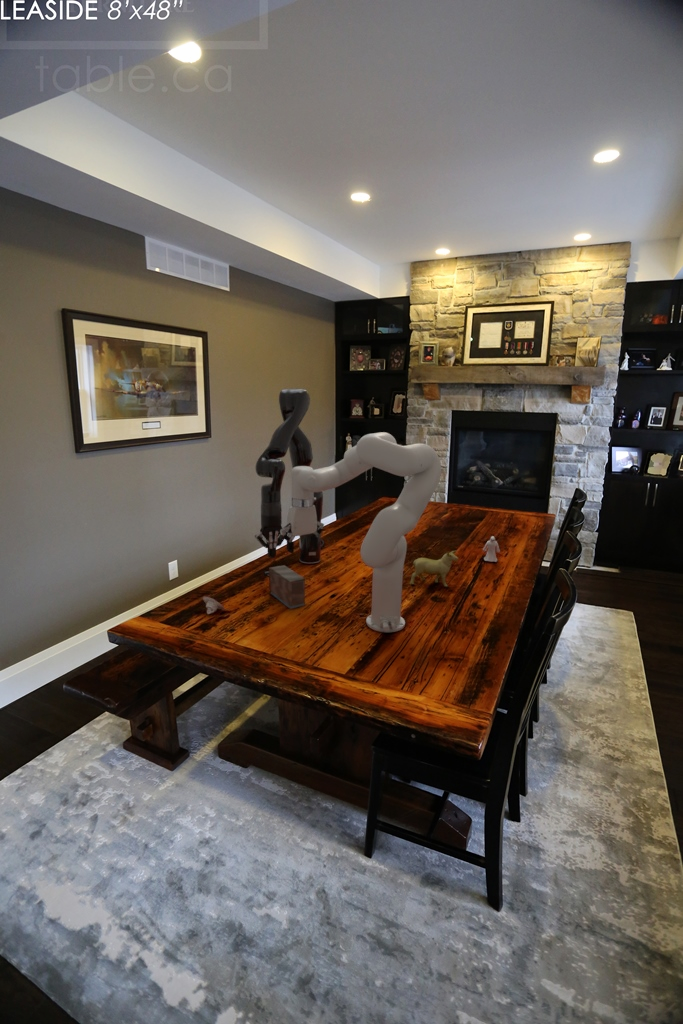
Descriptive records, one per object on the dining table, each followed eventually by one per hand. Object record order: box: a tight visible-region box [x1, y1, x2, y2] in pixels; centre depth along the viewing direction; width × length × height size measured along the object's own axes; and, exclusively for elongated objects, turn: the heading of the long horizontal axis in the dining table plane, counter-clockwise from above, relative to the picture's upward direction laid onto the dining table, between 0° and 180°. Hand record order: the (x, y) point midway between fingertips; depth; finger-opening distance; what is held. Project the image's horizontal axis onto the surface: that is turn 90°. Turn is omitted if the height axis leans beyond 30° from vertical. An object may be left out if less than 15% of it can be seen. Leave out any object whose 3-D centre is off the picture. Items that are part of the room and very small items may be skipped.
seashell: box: [202, 596, 226, 615], centre depth 167 cm, size 8×5×8 cm
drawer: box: [263, 565, 279, 591], centre depth 183 cm, size 20×4×8 cm, turn 34°
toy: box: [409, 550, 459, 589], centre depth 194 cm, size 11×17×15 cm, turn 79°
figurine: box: [482, 535, 501, 563], centre depth 223 cm, size 8×8×12 cm
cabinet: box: [269, 564, 306, 610], centre depth 179 cm, size 16×6×10 cm, turn 34°
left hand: (271, 557), depth 187 cm, fingers closed
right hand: (302, 549), depth 176 cm, fingers open, 9 cm apart
